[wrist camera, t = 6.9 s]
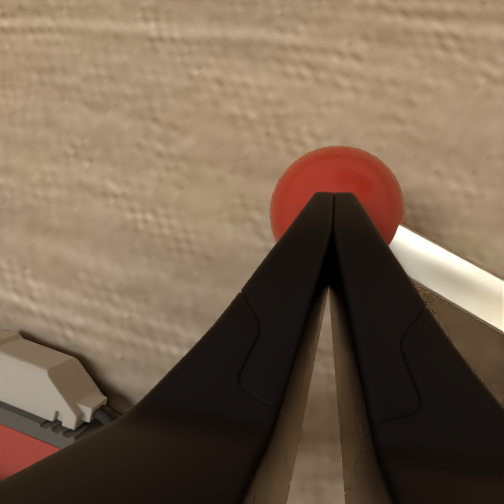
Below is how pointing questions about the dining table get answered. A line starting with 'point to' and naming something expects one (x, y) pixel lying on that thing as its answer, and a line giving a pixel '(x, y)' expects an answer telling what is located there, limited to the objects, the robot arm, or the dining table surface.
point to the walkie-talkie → (43, 403)
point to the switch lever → (389, 227)
